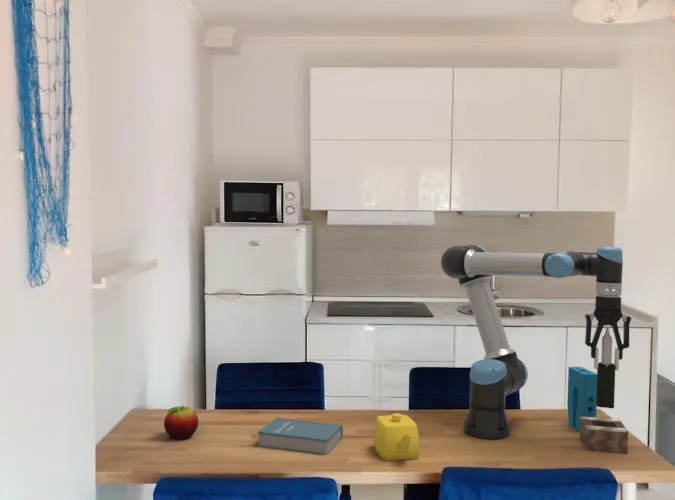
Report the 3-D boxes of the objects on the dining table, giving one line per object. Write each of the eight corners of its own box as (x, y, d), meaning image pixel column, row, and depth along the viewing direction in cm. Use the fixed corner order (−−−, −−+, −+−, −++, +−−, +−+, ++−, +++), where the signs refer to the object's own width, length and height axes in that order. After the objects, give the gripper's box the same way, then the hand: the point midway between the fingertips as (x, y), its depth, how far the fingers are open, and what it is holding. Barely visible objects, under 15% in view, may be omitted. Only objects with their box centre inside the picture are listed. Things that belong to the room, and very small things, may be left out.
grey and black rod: (613, 404, 208) (615, 326, 207) (614, 408, 203) (616, 329, 202) (596, 402, 210) (598, 325, 209) (596, 406, 205) (599, 327, 204)
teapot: (427, 464, 188) (428, 424, 187) (386, 467, 185) (387, 426, 185) (406, 441, 208) (406, 405, 207) (368, 443, 205) (369, 406, 204)
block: (596, 433, 219) (598, 374, 218) (582, 433, 218) (584, 374, 217) (579, 422, 231) (580, 366, 230) (565, 422, 230) (567, 366, 229)
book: (257, 447, 201) (257, 431, 201) (277, 431, 216) (277, 416, 216) (327, 456, 195) (327, 440, 194) (342, 439, 210) (342, 424, 210)
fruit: (205, 436, 209) (205, 405, 208) (175, 444, 201) (176, 412, 200) (185, 428, 216) (186, 399, 216) (157, 436, 208) (157, 405, 208)
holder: (585, 450, 202) (586, 427, 202) (579, 437, 214) (580, 416, 214) (627, 453, 200) (628, 430, 200) (619, 440, 212) (619, 419, 211)
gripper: (579, 296, 203) (577, 369, 204) (642, 298, 199) (640, 373, 200) (575, 293, 211) (573, 364, 211) (636, 295, 207) (634, 368, 208)
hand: (606, 368), depth 206 cm, fingers closed on grey and black rod, 5 cm apart
